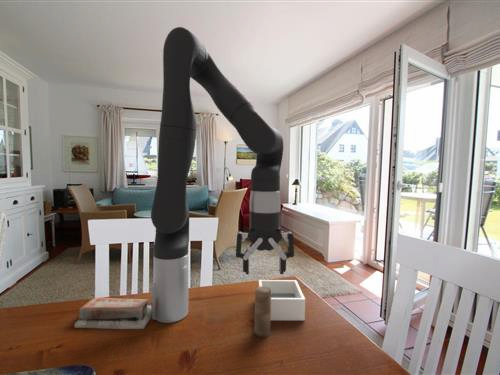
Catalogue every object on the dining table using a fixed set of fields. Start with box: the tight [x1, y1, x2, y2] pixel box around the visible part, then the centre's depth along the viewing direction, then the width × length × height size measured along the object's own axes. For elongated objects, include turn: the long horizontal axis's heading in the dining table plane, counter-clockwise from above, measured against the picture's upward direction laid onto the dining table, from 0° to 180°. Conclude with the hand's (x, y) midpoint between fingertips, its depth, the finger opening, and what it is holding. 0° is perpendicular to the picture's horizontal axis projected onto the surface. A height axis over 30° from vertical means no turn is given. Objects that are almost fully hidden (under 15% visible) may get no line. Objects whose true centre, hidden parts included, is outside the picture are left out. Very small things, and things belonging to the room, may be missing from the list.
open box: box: [258, 279, 306, 321], centre depth 77 cm, size 12×12×6 cm
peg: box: [253, 286, 272, 338], centre depth 66 cm, size 4×4×11 cm
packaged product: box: [74, 297, 152, 330], centre depth 71 cm, size 18×5×10 cm
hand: (264, 273), depth 65 cm, fingers open, 8 cm apart
